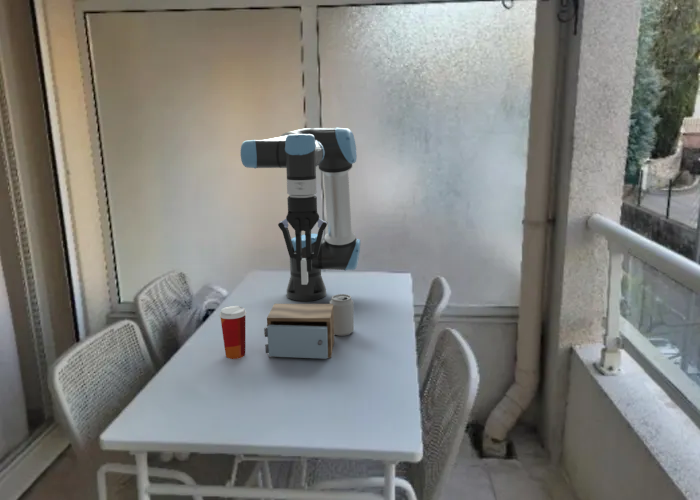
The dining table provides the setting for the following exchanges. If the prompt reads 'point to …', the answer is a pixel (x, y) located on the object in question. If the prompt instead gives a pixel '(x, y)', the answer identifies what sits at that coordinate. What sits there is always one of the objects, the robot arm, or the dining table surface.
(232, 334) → the paper cup
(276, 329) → the door
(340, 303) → the can
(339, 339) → the dining table surface
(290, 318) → the cabinet
